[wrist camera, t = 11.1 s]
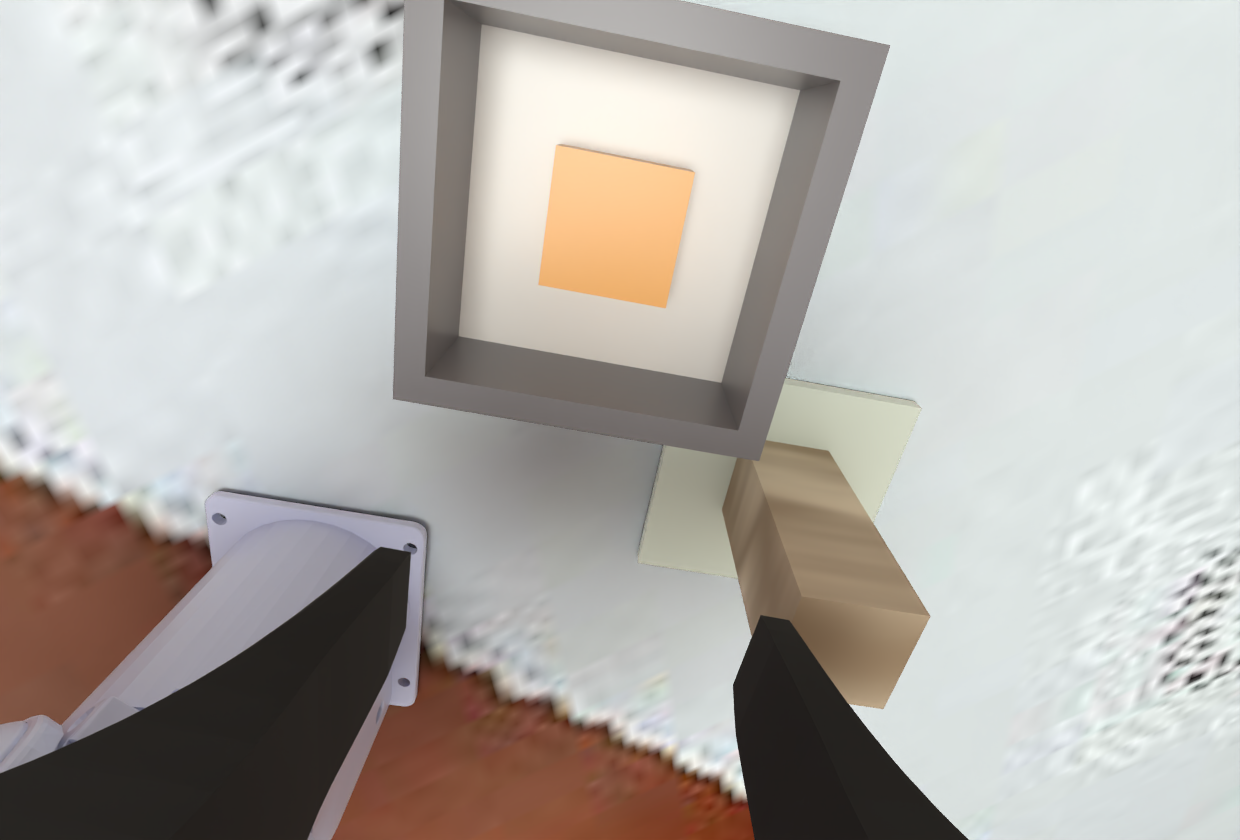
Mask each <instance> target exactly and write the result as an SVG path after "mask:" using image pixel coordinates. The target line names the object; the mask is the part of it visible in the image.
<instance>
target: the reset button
mask: <svg viewBox="0 0 1240 840" xmlns="http://www.w3.org/2000/svg"><path fill="white" fill-rule="evenodd" d="M694 176H695V172H694V171H692V170H691V169H686V168H681V167H676V166H671V165H666V164H661V163H656V162H651V161H646V160H641V159H635V158H630V157H625V156H620V155H615V154H610V153H605V152H600V151H595V150H590V149H585V148H580V147H575V146H570V145H565V144H558V145H556V148H555V156H554V164H553V172H552V180H551V188H550V196H549V204H548V212H547V220H546V228H545V236H544V244H543V251H542V259H541V267H540V275H539V283H538V285H541V286H547V287H552V288H558V289H563V290H569V291H574V292H579V293H585V294H590V295H596V296H601V297H607V298H612V299H618V300H623V301H628V302H634V303H639V304H645V305H650V306H656V307H661V308H666V305H667V300H668V296H669V291H670V286H671V282H672V277H673V272H674V268H675V263H676V259H677V254H678V249H679V245H680V240H681V236H682V231H683V226H684V222H685V217H686V212H687V208H688V203H689V199H690V194H691V189H692V185H693V180H694Z"/></svg>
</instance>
